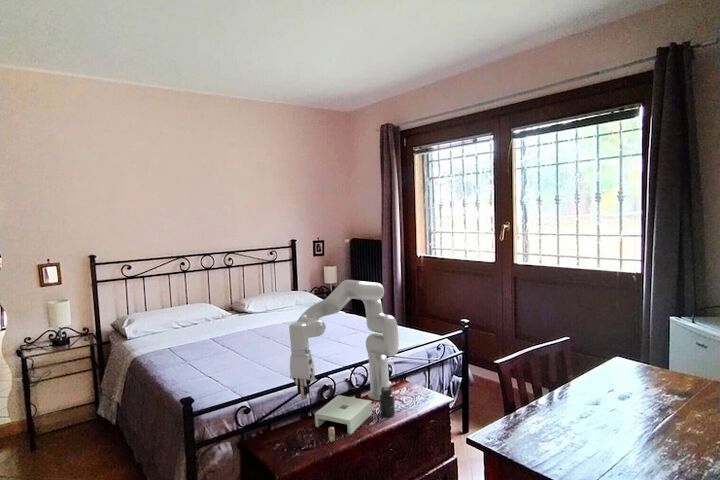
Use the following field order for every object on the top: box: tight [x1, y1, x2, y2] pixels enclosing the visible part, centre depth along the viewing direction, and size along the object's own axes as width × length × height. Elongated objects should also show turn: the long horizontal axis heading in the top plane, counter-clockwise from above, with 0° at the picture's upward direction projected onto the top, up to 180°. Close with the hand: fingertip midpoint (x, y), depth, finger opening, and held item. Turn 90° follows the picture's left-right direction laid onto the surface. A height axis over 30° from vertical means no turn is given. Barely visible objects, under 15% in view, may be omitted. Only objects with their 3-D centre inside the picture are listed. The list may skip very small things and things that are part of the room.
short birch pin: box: [327, 426, 336, 443], centre depth 179 cm, size 2×2×5 cm
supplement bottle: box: [379, 387, 396, 418], centre depth 198 cm, size 7×7×12 cm
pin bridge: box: [314, 394, 373, 435], centre depth 196 cm, size 20×18×6 cm
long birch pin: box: [300, 379, 308, 401], centre depth 184 cm, size 2×2×11 cm
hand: (303, 393), depth 184 cm, fingers closed on long birch pin, 2 cm apart
